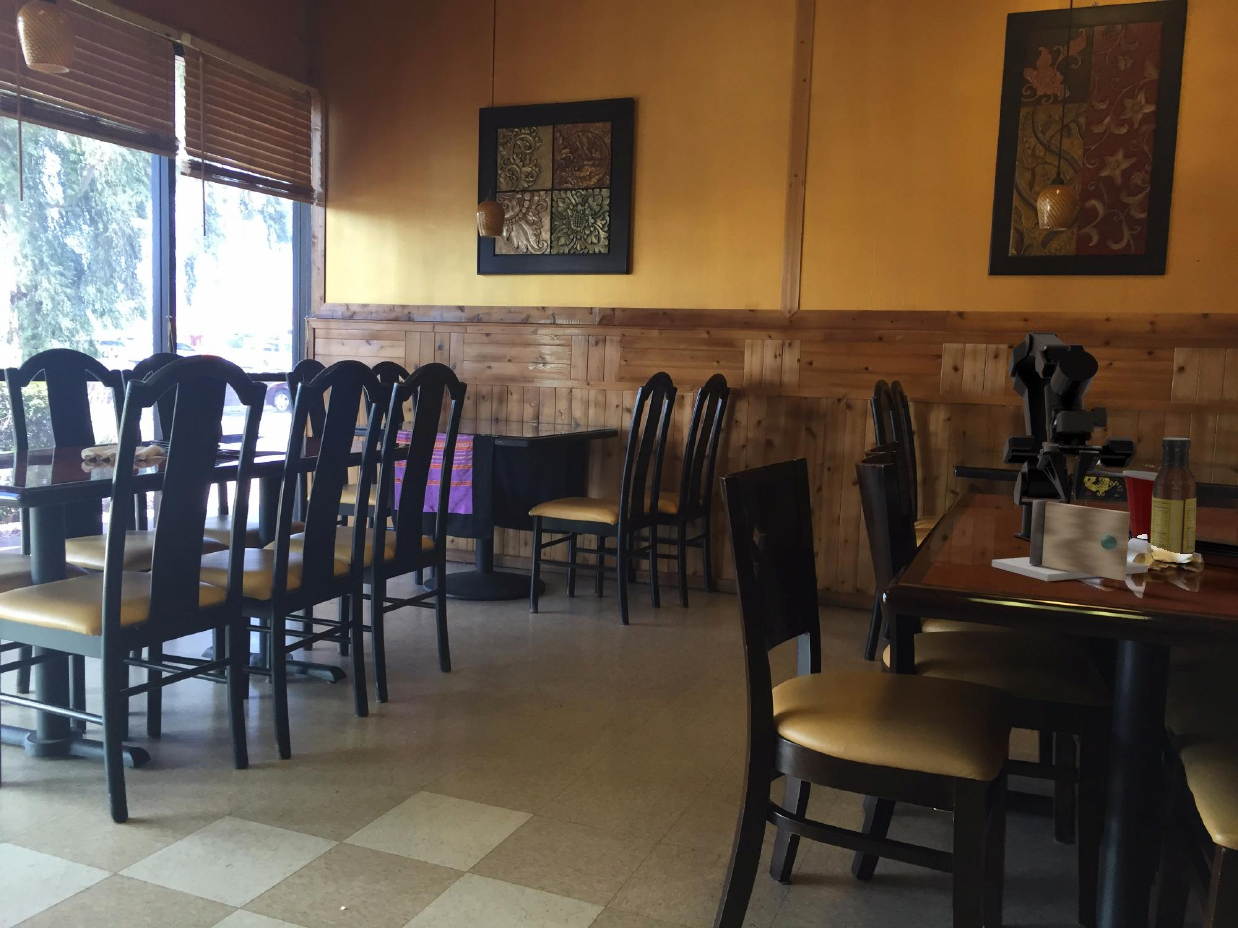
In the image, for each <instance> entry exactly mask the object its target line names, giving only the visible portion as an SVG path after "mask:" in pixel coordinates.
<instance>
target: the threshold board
mask: <svg viewBox="0 0 1238 928" xmlns="http://www.w3.org/2000/svg"><path fill="white" fill-rule="evenodd" d="M1029 559H1030V556H1028V557H1027V556H1026V557H1024V556H1023V557H1014V558H1002V559H992V560H991V567H993V568H997V569H1001V570H1005V571H1007V572H1012V573H1016V574H1019V575H1023V576H1026V577H1030V578H1034V579H1037V580H1041V581H1045V582H1053V581H1054V582H1055V581H1056V582H1057V581H1065V580H1077V579H1078V580H1079V579H1086V578H1089V579H1090V578H1097V577H1099V578H1100V577H1101V576H1096V575H1090V574H1085V573H1080V572H1074V571H1069V570H1064V569H1059V568H1053V567H1048V566H1043V565H1034V564H1030V563H1029ZM1148 567H1149V566H1148V565H1147V564H1142V563H1137V562H1133V561H1130V560H1127V567H1126V575H1131V574H1142V573H1148V570H1149V569H1148Z"/></svg>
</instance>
